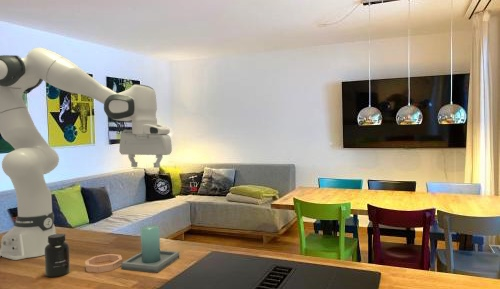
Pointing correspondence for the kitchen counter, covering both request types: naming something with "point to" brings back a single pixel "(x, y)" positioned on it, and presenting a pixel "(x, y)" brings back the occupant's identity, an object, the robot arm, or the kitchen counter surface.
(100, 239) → the kitchen counter surface
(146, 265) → the tray
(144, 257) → the teal green cylinder
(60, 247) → the supplement bottle
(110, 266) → the holder
